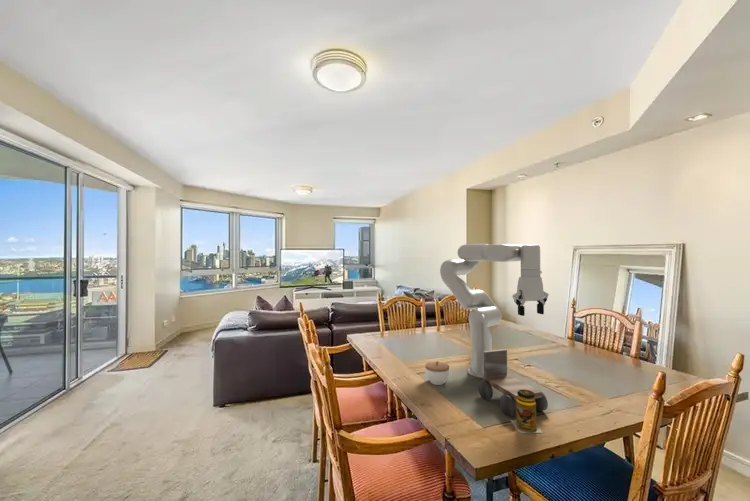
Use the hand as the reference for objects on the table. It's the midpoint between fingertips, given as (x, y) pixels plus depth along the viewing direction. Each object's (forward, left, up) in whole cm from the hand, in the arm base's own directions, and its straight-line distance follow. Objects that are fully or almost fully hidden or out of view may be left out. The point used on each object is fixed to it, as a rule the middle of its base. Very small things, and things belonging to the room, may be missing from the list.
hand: (530, 314), depth 140 cm
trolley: (+7, -16, -32) cm, 37 cm away
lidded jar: (-21, -33, -32) cm, 51 cm away
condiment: (+22, -22, -33) cm, 45 cm away
